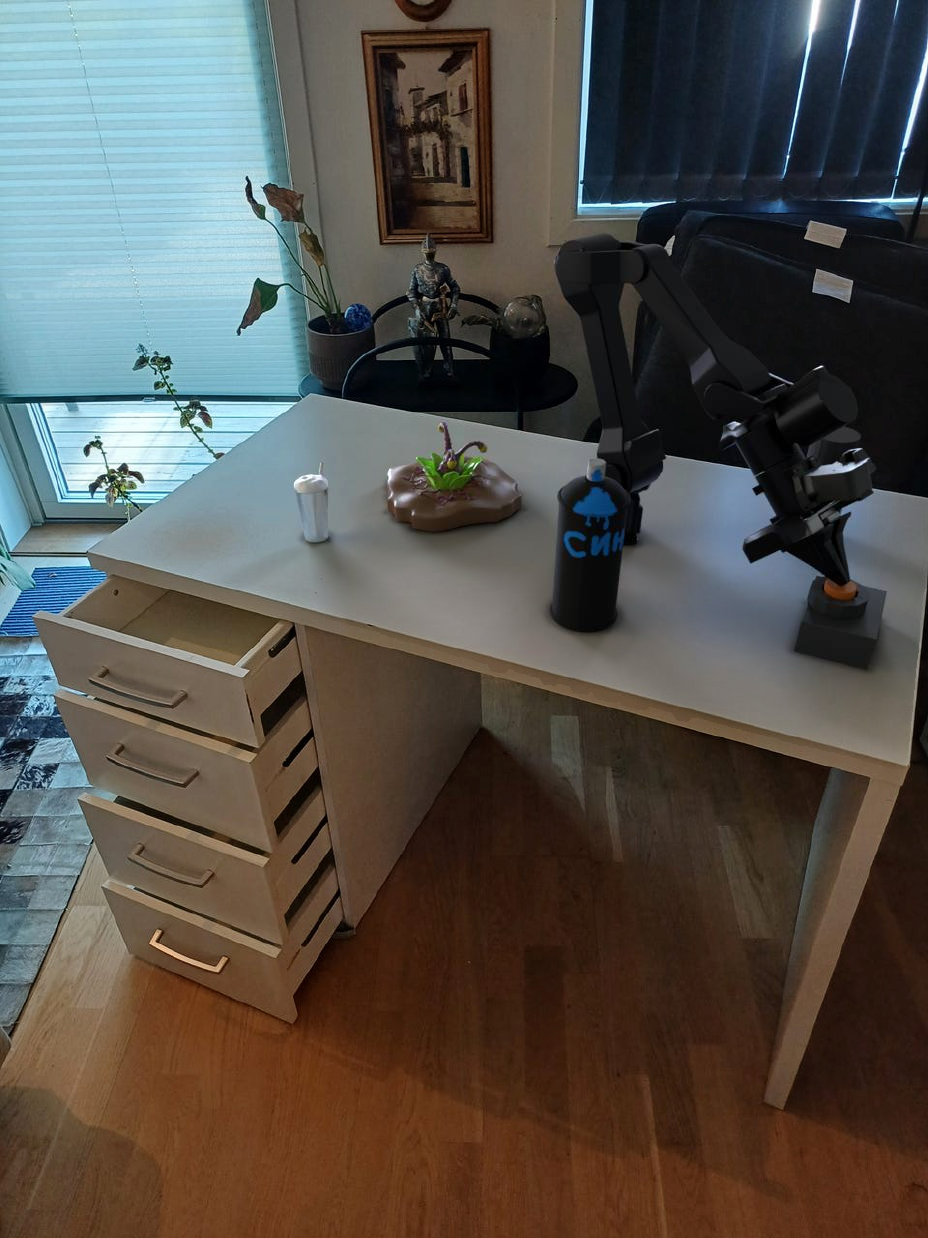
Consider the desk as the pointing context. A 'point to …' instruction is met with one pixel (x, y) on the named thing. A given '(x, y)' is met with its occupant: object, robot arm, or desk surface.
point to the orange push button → (840, 590)
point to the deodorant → (834, 446)
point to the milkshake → (313, 505)
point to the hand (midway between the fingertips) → (845, 584)
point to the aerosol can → (589, 550)
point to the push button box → (841, 625)
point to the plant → (451, 490)
